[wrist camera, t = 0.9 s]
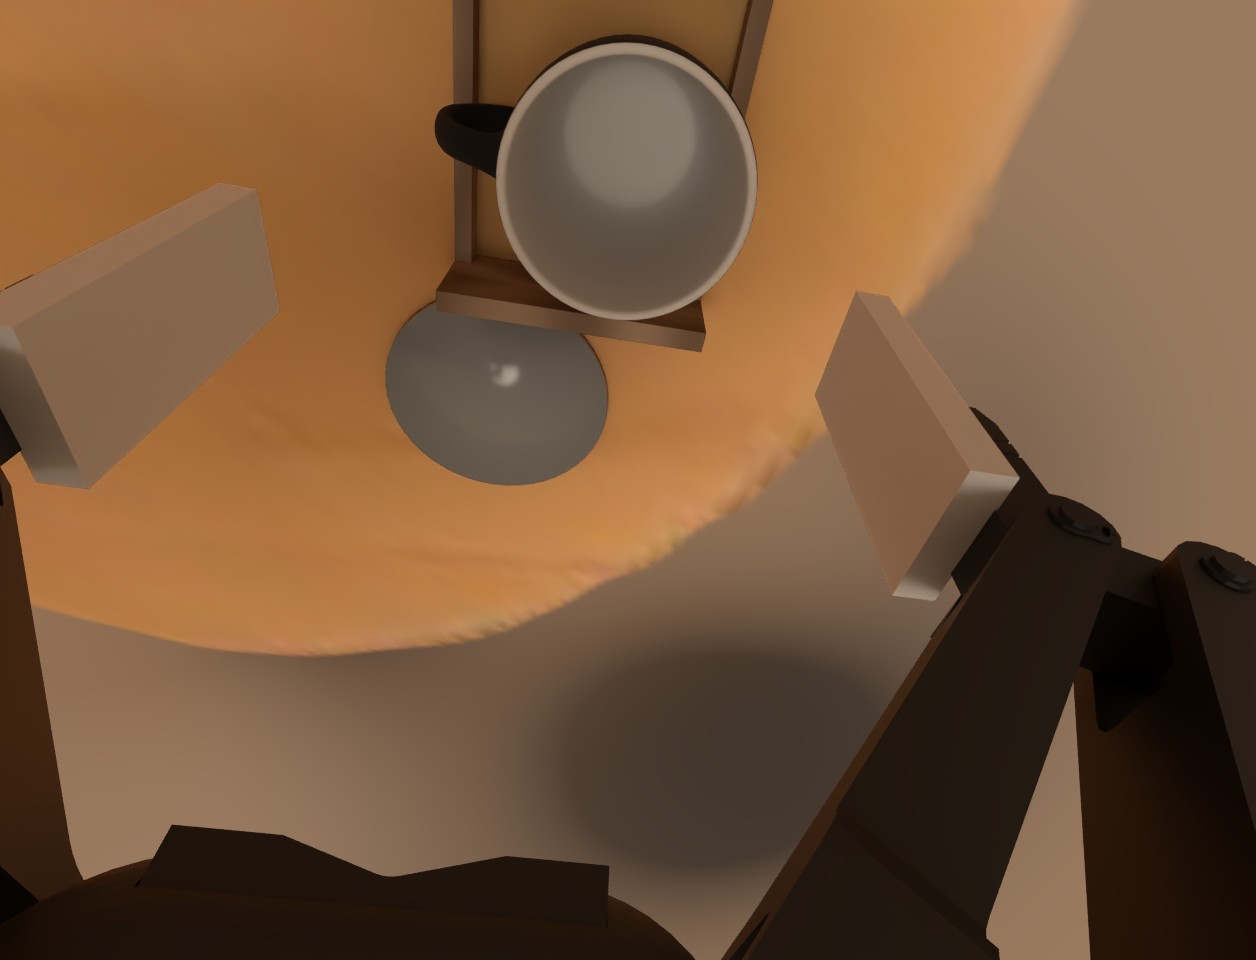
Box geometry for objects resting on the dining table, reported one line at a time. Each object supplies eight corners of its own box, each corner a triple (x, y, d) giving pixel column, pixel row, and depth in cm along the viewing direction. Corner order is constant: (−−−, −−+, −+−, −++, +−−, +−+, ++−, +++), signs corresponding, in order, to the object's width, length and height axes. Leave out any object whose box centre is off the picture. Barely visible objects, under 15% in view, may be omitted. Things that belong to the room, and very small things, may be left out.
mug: (754, 46, 28) (799, 79, 20) (698, 252, 33) (716, 342, 25) (471, -25, 26) (397, -20, 18) (462, 202, 32) (403, 281, 24)
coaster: (396, 465, 42) (393, 470, 42) (380, 271, 34) (376, 276, 33) (593, 491, 43) (592, 497, 43) (623, 311, 35) (623, 315, 35)
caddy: (460, 271, 34) (436, 311, 30) (459, -128, 24) (424, -146, 20) (694, 309, 35) (701, 352, 31) (782, -59, 25) (807, -64, 21)
